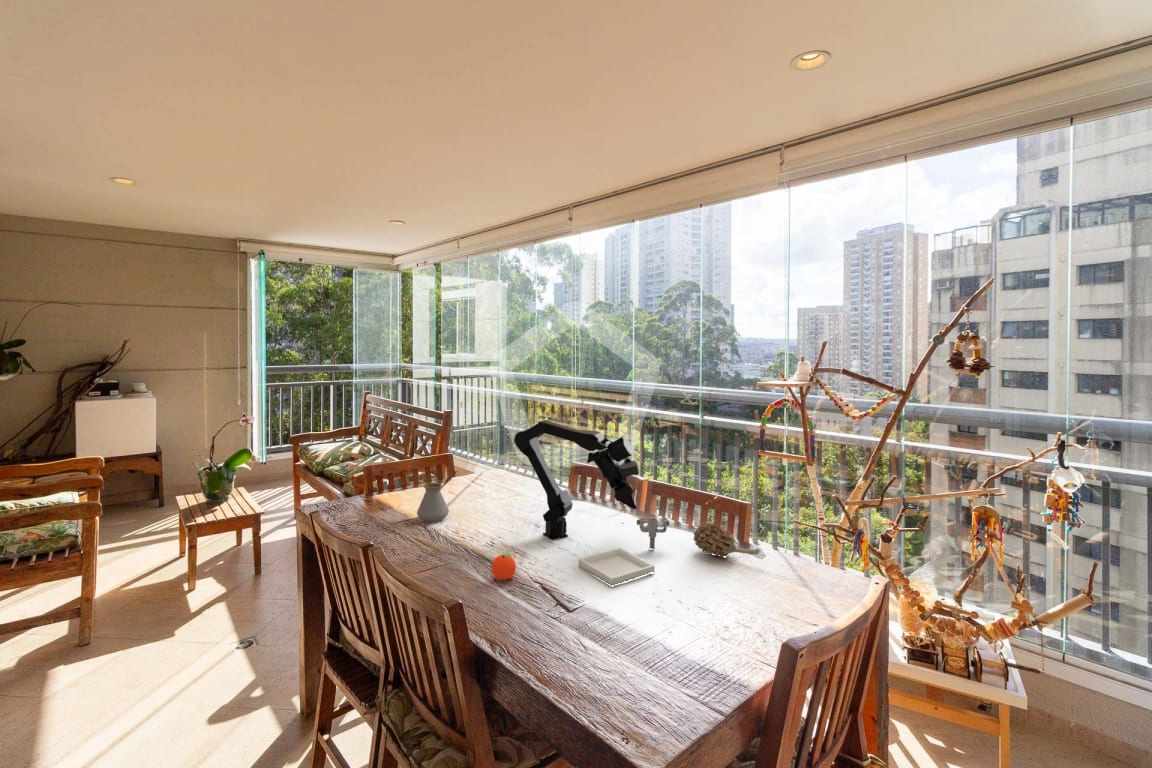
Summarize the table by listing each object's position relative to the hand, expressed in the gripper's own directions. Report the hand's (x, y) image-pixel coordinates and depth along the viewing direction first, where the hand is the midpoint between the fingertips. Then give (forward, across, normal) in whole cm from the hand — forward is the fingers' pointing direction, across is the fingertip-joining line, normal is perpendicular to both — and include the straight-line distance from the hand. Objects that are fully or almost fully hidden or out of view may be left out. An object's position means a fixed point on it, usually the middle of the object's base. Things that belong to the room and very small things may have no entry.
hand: (632, 503), depth 187 cm
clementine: (-14, -27, +40) cm, 51 cm away
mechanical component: (+14, -8, +3) cm, 16 cm away
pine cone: (+26, -16, -16) cm, 34 cm away
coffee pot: (-26, +28, +65) cm, 75 cm away
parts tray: (+4, -23, +14) cm, 27 cm away
